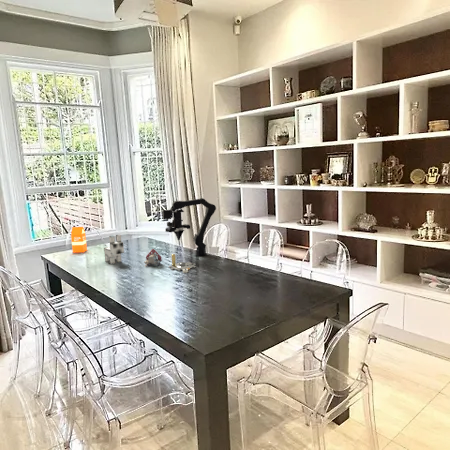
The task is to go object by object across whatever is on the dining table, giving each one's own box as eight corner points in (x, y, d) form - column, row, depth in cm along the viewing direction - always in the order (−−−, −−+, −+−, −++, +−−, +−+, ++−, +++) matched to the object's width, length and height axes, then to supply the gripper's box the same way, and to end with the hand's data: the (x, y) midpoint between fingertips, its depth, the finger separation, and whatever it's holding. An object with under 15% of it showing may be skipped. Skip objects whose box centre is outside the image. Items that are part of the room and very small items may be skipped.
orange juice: (83, 252, 310) (81, 227, 307) (72, 252, 311) (70, 227, 307) (87, 249, 318) (84, 225, 315) (76, 250, 318) (73, 226, 315)
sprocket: (166, 265, 262) (165, 252, 261) (191, 261, 269) (190, 249, 268) (173, 271, 246) (172, 258, 245) (199, 268, 253) (199, 255, 251)
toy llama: (113, 258, 286) (111, 232, 282) (124, 263, 273) (122, 235, 269) (103, 261, 281) (101, 233, 277) (114, 265, 268) (112, 236, 264)
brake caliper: (165, 258, 271) (160, 248, 262) (161, 271, 263) (155, 261, 255) (150, 258, 273) (144, 247, 265) (145, 271, 266) (140, 260, 257)
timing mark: (182, 271, 247) (182, 268, 247) (187, 271, 248) (187, 268, 248) (183, 272, 244) (183, 269, 244) (188, 272, 245) (188, 269, 245)
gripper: (180, 215, 290) (181, 236, 293) (160, 219, 277) (161, 240, 280) (190, 217, 282) (191, 238, 285) (169, 220, 269) (171, 242, 272)
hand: (178, 239), depth 281 cm, fingers closed
